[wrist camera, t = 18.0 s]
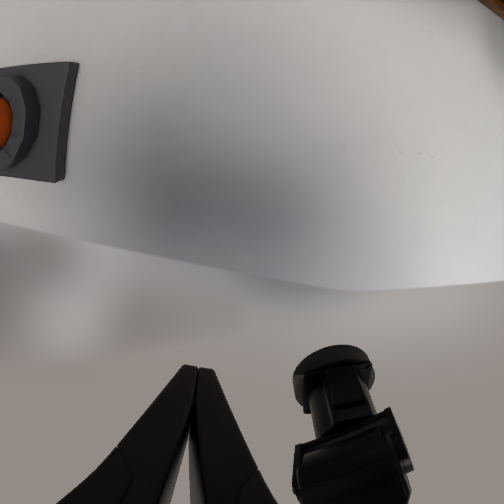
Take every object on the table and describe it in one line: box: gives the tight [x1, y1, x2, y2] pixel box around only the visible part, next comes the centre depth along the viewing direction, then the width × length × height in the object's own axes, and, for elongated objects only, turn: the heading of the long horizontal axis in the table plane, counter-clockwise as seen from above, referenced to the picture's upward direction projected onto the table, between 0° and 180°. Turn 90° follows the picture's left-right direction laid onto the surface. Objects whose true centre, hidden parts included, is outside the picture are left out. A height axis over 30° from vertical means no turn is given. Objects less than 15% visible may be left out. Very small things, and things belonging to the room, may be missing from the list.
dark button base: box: [0, 62, 79, 183], centre depth 15 cm, size 10×8×3 cm
